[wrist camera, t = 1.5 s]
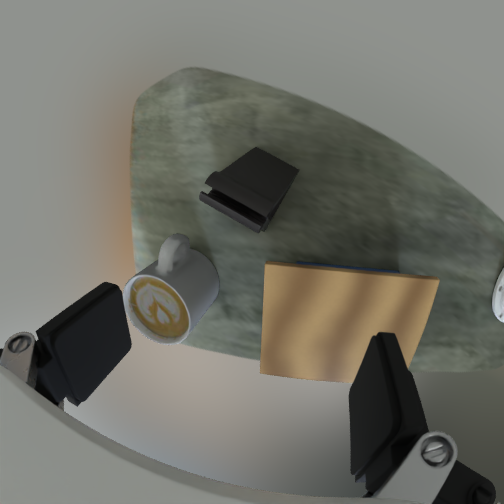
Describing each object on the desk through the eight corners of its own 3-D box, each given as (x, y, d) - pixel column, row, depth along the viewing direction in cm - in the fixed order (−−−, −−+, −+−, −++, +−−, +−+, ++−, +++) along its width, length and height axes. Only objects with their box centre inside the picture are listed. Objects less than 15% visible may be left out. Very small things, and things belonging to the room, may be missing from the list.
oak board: (436, 276, 26) (439, 280, 25) (399, 379, 31) (400, 384, 30) (266, 260, 30) (264, 263, 29) (261, 368, 35) (259, 373, 34)
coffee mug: (207, 318, 42) (180, 357, 32) (155, 289, 42) (119, 319, 33) (238, 245, 37) (210, 275, 27) (175, 215, 37) (133, 233, 28)
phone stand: (256, 146, 32) (225, 139, 21) (299, 170, 32) (290, 174, 20) (224, 208, 35) (182, 231, 24) (264, 231, 35) (239, 265, 24)
